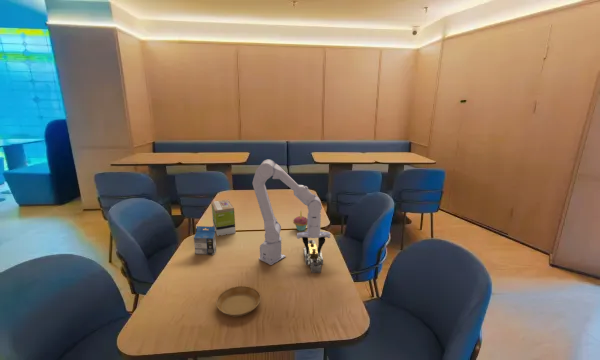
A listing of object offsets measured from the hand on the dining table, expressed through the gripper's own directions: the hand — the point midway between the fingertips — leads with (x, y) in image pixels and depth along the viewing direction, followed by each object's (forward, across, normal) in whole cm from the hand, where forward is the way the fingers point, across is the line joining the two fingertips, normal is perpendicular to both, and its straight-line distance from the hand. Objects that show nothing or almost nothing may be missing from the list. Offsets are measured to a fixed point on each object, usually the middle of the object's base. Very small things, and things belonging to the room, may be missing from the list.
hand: (313, 252), depth 125 cm
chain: (+3, 0, 0) cm, 3 cm away
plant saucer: (+3, +29, +29) cm, 41 cm away
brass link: (+2, 0, -1) cm, 2 cm away
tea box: (+3, +46, -33) cm, 57 cm away
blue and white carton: (+3, +49, -8) cm, 50 cm away
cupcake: (+3, +3, -32) cm, 32 cm away
